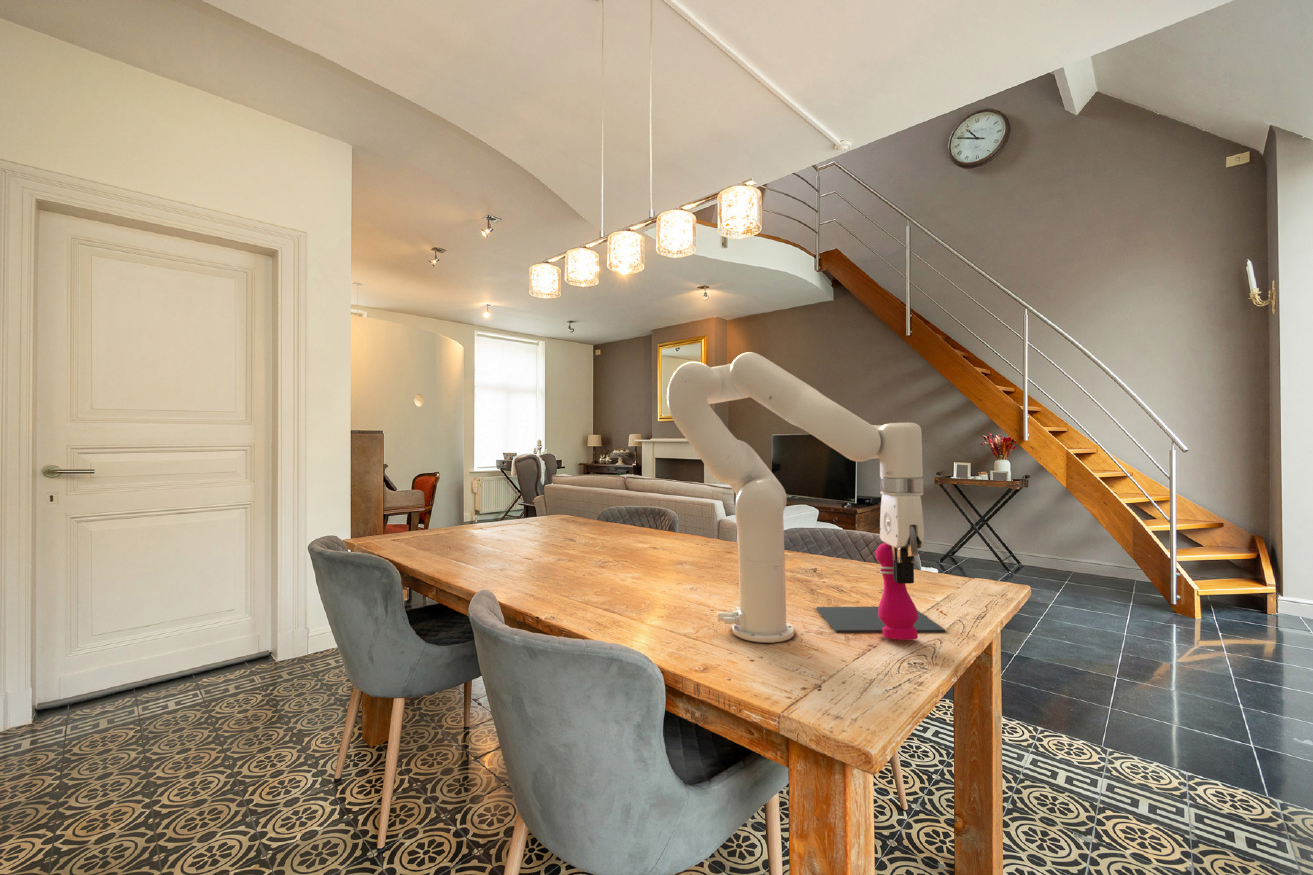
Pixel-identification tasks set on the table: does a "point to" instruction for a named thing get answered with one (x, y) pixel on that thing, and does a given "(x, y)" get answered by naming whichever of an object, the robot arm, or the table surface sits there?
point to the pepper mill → (895, 601)
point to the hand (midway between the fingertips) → (903, 582)
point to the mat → (867, 620)
